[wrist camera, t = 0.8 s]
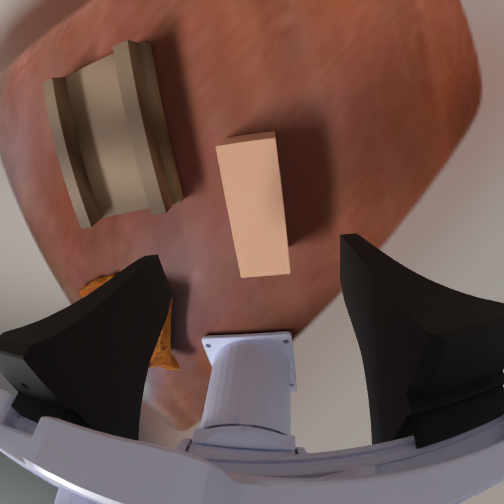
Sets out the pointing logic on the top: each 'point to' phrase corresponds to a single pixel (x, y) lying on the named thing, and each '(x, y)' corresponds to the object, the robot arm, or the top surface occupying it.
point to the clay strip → (255, 203)
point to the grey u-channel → (113, 136)
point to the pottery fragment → (163, 346)
